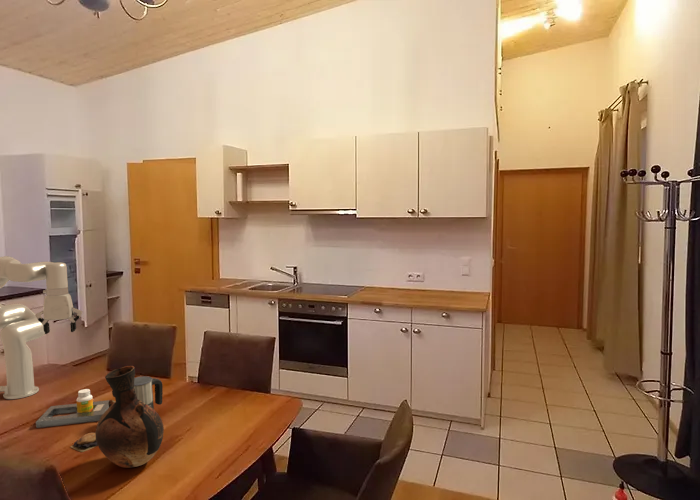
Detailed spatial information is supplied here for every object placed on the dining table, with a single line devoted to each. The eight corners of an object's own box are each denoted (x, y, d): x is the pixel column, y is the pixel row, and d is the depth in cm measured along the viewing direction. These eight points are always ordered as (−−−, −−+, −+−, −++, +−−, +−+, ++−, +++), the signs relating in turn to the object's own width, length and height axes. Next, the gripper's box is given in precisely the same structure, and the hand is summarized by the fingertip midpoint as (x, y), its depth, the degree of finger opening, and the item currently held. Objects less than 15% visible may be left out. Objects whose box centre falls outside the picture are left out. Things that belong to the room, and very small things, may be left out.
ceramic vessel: (178, 456, 145) (173, 364, 143) (129, 486, 130) (124, 383, 128) (133, 442, 155) (128, 356, 153) (83, 468, 139) (77, 372, 137)
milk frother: (144, 425, 168) (142, 385, 167) (107, 421, 171) (104, 383, 170) (167, 408, 182) (165, 372, 181) (132, 405, 185) (130, 370, 184)
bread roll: (82, 454, 149) (81, 444, 148) (68, 448, 153) (67, 437, 153) (113, 440, 158) (113, 430, 157) (99, 434, 162) (98, 424, 162)
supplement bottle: (81, 419, 173) (79, 394, 173) (75, 415, 177) (73, 391, 176) (96, 414, 178) (94, 390, 177) (89, 411, 181) (88, 387, 180)
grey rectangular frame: (36, 428, 167) (35, 421, 167) (51, 412, 180) (50, 406, 180) (102, 420, 172) (102, 414, 172) (112, 405, 186) (111, 399, 185)
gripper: (30, 294, 185) (33, 336, 187) (77, 292, 190) (80, 332, 191) (37, 291, 193) (40, 331, 194) (83, 289, 197) (85, 328, 198)
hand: (60, 332), depth 192 cm, fingers open, 9 cm apart
